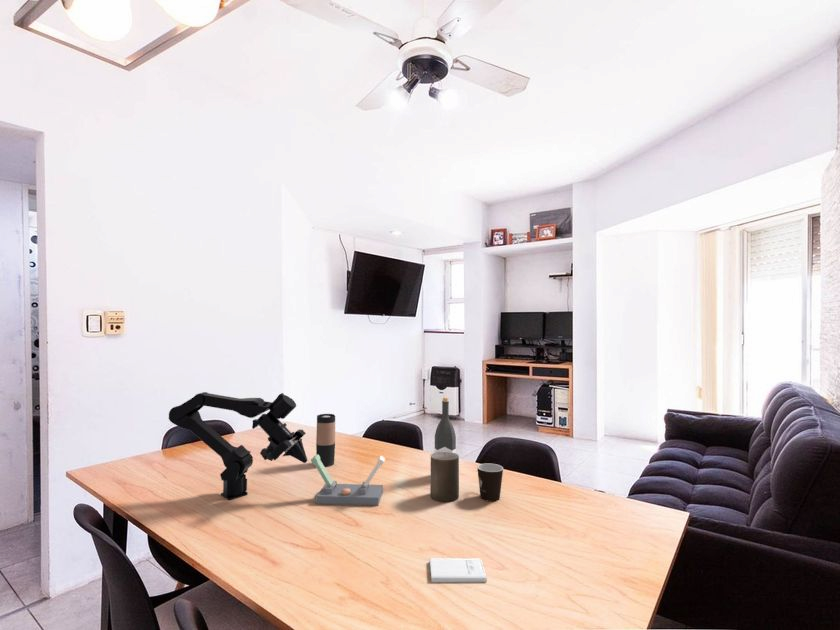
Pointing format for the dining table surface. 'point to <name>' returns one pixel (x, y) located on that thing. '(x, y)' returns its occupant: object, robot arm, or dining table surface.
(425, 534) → the dining table surface
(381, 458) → the ivory lever
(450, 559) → the external hard drive
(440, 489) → the pillar candle
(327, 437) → the travel mug
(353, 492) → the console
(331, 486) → the green lever
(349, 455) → the dining table surface
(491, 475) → the coffee mug
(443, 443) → the wine bottle
